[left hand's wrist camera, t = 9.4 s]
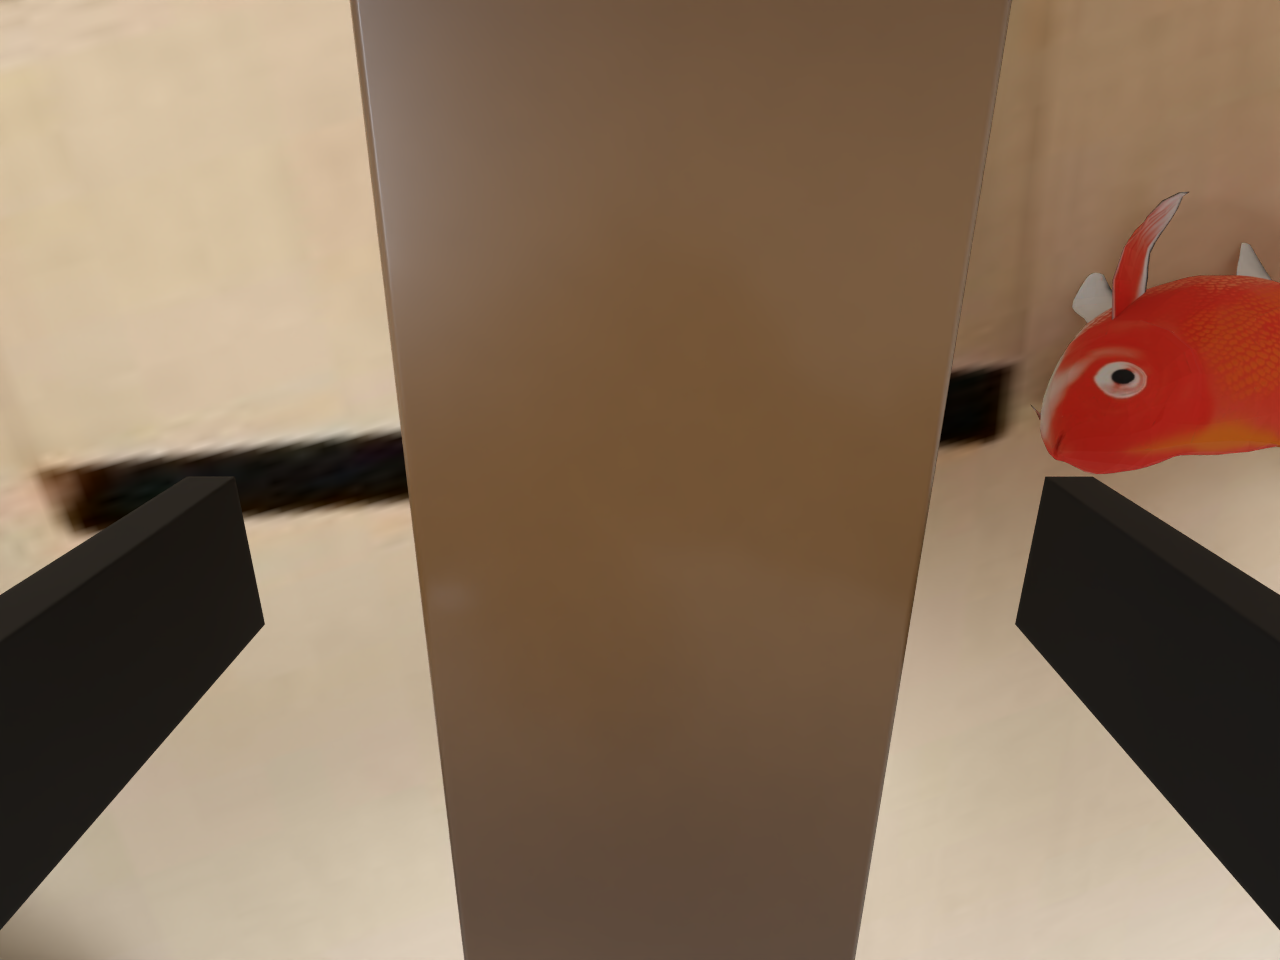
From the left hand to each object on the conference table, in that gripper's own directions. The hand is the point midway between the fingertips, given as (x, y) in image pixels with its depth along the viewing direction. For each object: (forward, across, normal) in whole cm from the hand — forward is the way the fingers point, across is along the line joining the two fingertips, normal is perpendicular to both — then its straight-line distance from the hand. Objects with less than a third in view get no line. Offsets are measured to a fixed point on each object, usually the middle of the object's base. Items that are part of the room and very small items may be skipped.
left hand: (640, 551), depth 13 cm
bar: (+2, 0, -8) cm, 9 cm away
